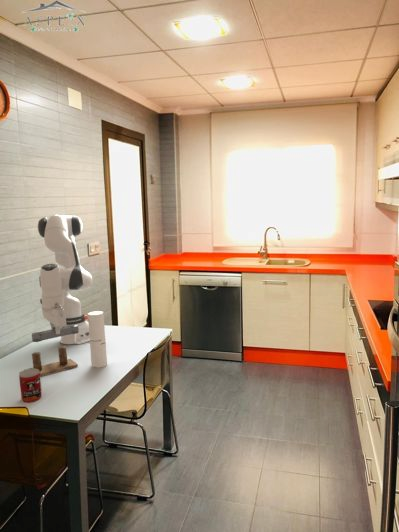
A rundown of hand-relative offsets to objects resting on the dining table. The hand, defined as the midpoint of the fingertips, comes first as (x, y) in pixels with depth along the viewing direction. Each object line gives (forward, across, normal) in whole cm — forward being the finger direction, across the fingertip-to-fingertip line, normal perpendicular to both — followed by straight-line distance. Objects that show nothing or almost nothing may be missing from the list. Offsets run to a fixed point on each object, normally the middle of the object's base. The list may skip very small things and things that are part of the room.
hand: (55, 332), depth 198 cm
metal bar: (+2, 0, 0) cm, 2 cm away
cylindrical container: (+21, +2, -20) cm, 28 cm away
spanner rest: (+20, +11, 0) cm, 23 cm away
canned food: (+20, -15, +17) cm, 30 cm away
